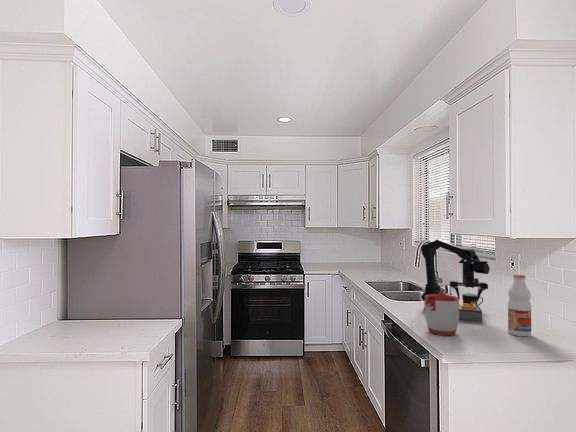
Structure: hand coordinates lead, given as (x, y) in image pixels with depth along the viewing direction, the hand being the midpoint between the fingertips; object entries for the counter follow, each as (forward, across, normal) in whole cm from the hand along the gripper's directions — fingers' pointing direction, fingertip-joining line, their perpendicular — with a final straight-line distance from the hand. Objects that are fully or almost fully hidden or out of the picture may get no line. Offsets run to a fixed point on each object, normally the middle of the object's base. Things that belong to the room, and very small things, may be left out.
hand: (468, 300), depth 204 cm
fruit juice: (+10, +20, -22) cm, 31 cm away
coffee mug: (+10, +4, +18) cm, 21 cm away
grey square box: (+10, 0, 0) cm, 10 cm away
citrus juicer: (+10, -15, -34) cm, 38 cm away
